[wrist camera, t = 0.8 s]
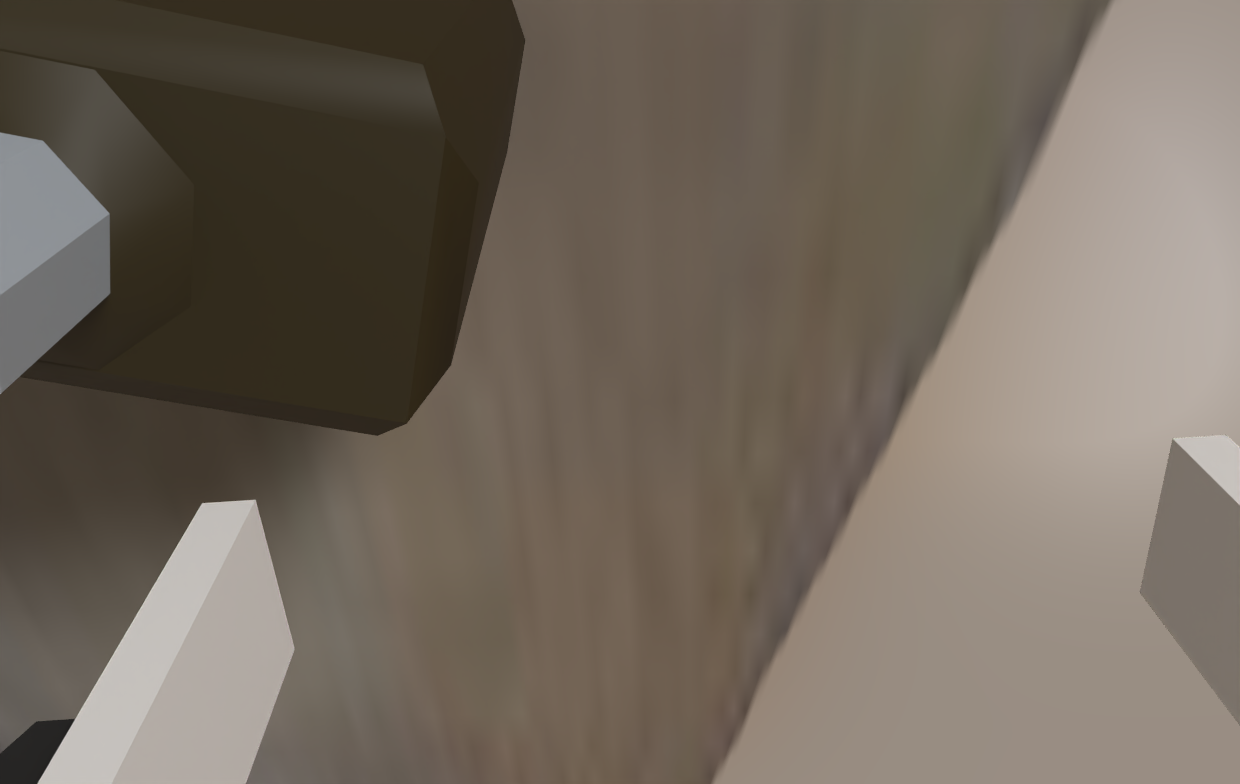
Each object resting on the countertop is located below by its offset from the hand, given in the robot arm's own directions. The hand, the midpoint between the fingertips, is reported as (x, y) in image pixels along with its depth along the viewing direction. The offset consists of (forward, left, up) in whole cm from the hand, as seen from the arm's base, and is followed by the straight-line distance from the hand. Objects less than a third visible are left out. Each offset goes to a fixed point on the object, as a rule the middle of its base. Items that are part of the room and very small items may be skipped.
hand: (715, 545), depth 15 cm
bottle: (-6, -11, -27) cm, 29 cm away
